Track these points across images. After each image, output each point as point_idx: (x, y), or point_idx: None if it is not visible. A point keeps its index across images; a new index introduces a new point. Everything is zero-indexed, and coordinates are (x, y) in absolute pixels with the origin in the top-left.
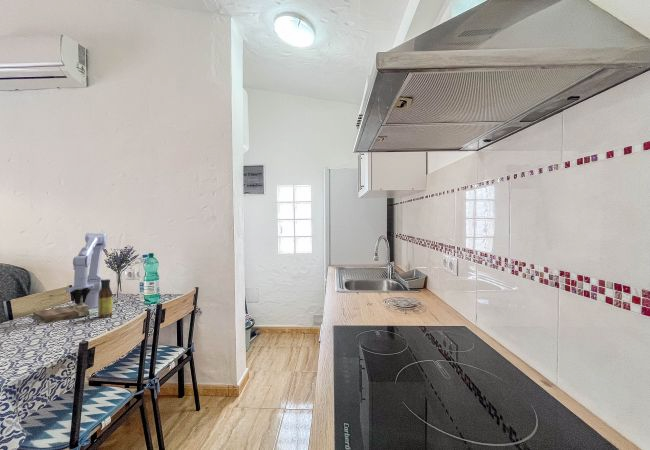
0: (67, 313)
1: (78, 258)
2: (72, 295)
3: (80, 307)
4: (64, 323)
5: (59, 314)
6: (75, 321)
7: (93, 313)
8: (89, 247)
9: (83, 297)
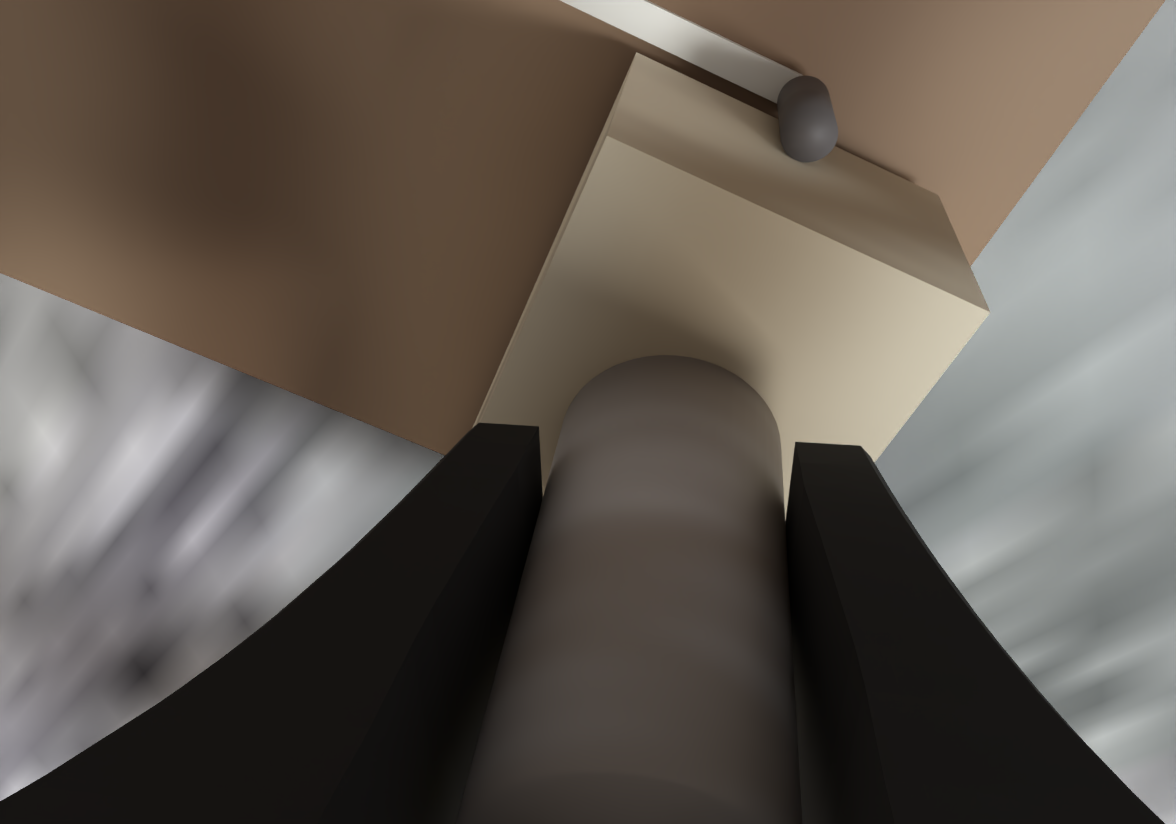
0: (301, 164)
1: None
2: (77, 780)
3: None
4: (7, 510)
5: (76, 6)
6: (210, 593)
7: (937, 480)
8: None
9: (812, 812)
